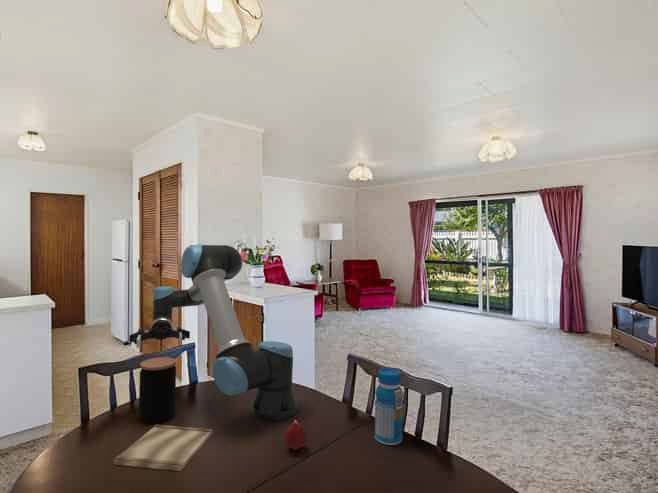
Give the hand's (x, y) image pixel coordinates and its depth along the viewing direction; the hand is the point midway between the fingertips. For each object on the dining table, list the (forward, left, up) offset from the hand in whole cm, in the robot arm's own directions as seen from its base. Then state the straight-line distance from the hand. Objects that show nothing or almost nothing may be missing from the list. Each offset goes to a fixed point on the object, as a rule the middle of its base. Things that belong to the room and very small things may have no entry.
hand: (159, 342), depth 126 cm
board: (-18, +25, -22) cm, 38 cm away
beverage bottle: (-79, +10, -22) cm, 83 cm away
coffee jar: (-5, +9, -22) cm, 24 cm away
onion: (-53, +20, -22) cm, 61 cm away
